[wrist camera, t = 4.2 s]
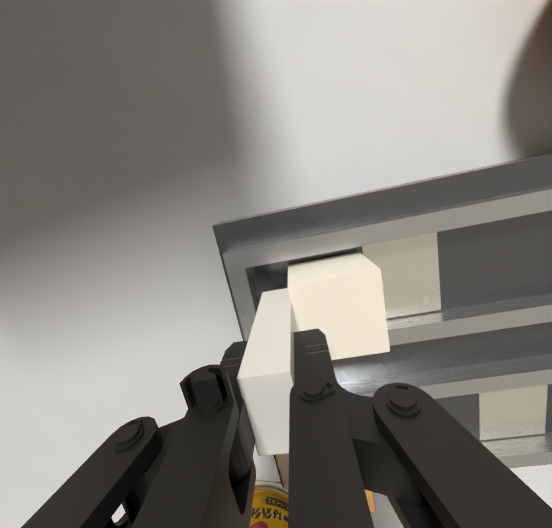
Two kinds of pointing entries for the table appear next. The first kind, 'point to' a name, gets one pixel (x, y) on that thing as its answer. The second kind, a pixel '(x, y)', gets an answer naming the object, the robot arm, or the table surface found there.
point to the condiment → (269, 506)
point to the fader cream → (341, 303)
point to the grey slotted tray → (433, 292)
